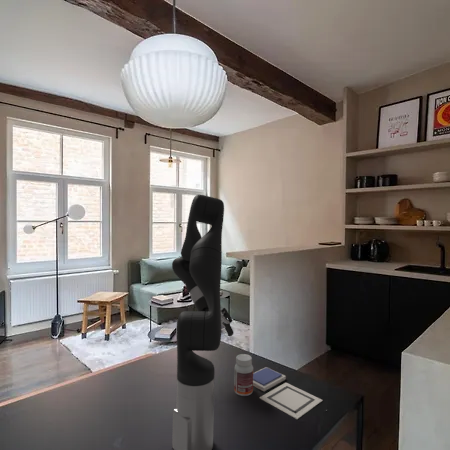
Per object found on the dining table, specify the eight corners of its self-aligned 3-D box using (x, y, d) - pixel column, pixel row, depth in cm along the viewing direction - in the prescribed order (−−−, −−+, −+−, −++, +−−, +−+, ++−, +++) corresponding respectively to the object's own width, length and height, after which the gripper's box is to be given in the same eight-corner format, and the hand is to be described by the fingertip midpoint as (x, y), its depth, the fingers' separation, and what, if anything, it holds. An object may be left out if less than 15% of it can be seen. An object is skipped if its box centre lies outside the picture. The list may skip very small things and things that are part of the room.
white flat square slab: (297, 419, 88) (297, 418, 88) (259, 398, 98) (259, 397, 98) (322, 400, 98) (322, 399, 98) (285, 383, 108) (285, 382, 108)
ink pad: (263, 391, 102) (264, 386, 102) (244, 380, 109) (244, 376, 109) (285, 379, 110) (285, 374, 110) (266, 370, 117) (266, 365, 117)
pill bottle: (256, 393, 101) (257, 358, 101) (241, 398, 98) (242, 363, 98) (245, 384, 106) (245, 351, 106) (230, 389, 103) (231, 355, 103)
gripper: (192, 296, 111) (212, 337, 102) (221, 290, 120) (242, 328, 112) (183, 308, 115) (202, 348, 106) (212, 301, 124) (232, 338, 116)
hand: (223, 338), depth 109 cm, fingers open, 8 cm apart
